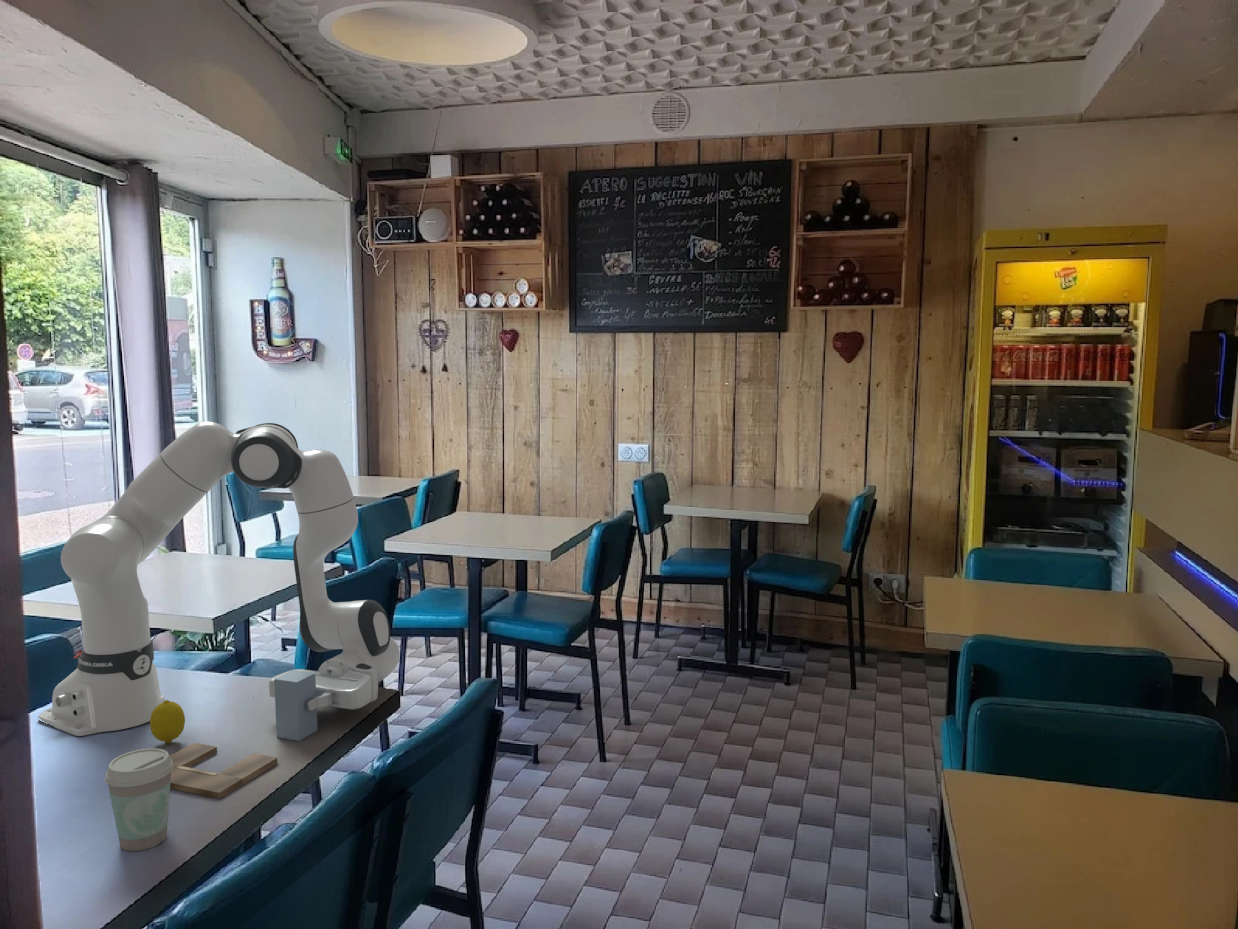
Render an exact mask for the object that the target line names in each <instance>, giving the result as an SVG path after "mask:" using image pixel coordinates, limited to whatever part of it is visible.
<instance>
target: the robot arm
mask: <svg viewBox="0 0 1238 929" xmlns="http://www.w3.org/2000/svg"><path fill="white" fill-rule="evenodd" d="M231 473H234V474H235V476H236V477H237V478H238V480H240V481H241V482H243V483H244V484H245V485H249V486H251V487H255V488H261V489H262V488H264V489H266V488H267V489H288V490H289V491H290V493H291V495H292V498H293V501H294V504H295V508H296V511H297V516H298V521H299V522H298V524H299V526H298V527H299V529H298V534H297V535H296V536H295V538H294V541H293V544H292V545H293V546H292V554H293V555H292V556H293V565H294V566H293V567H294V574H295V581H296V588H297V589H296V590H297V595H298V596H297V597H298V605H299V634H300V637H301V640H302V641H303V642H304V644H305V646H307V647H308V648H309V649H310V650H311V651H313V652H317V653H323V652H329V651H334V650H342V652H341V653H339V654H337V655H336V656H333V657H332V658H329V659H327V660H325V661H324V662H322V664H321V665H320V666H319V668H318V670H310V669H303V668H302V669H301V668H299V669H298V668H295V669H294V670H296V671H303V672H311V673H315V680H316V697H315V698H308V699H307V700H305V701H304V705H305V706H304V709H305V710H311V711H312V710H314V709H316V708H317V709H320V708H324V707H333V708H339V709H344V710H345V709H346V710H351V711H352V710H358V709H361V708H363V707H364V706H367V705H368V704H370V703H371V702H375V701H377V700H378V695H379V694H378V693H379V683H380V682H382V681H383V680H384V679H386V678H387V677H388V676H390V675H391V674H392V673H393V672H394V671H395V669H396V667H397V666H398V664H399V662H400V656H401V654H400V648H399V646H398V644H397V642H396V641H395V640H394V639H393V638H392V637H391V624H390V619H389V617H388V614H387V612H386V610H385V609H384V608H383V606H382V605H381V604H380V603H378V602H377V601H376V600H374V599H364V600H363V599H362V600H360V599H359V600H351V601H338V602H334V601H332V600H331V599H329V597H328V592H327V585H326V577H325V570H324V569H325V568H324V564H325V559H326V557H327V555H328V554H329V553H330V552H332V551H334V550H336V549H337V548H340V546H342V545H344V544H345V543H346V542H347V541H349V539H351V537H352V536H353V535H354V533H355V531H356V530H357V527H358V524H359V514H358V508H357V504H356V500H355V498H354V497H355V496H354V494H353V491H352V488H351V485H350V482H349V479H348V477H347V476H348V475H346V472H345V470H344V467H343V465H342V463H341V461H340V459H339V458H338V456H337V454H335V453H333V452H332V451H329V450H326V449H312V450H309V451H306V450H301V449H299V446H298V441H297V438H296V436H295V435H294V433H293V432H292V431H290V430H289V429H288V428H287V427H285V426H283V425H281V424H279V423H275V422H270V423H269V422H264V423H260V424H256V425H253V426H250V427H246V428H243V429H239V430H237V431H236V432H235V433H234V432H232V431H231V430H229V429H228V428H226V427H225V426H223V425H222V424H220V423H217V422H214V421H208V420H207V421H205V420H204V421H201V422H198V423H196V424H194V425H193V426H191V427H190V428H188V429H187V430H186V431H184V432H183V433H182V434H180V435H179V436H178V437H177V438H176V439H174V440H173V441H172V442H170V444H168V445H167V446H166V447H165V448H164V449H162V451H161V452H160V453H159V454H158V455H157V456H155V458H154V459H153V460H152V461H151V462H150V463H149V464H148V465H147V466H146V467H145V468H144V469H142V471H141V472H140V473H139V474H138V475H137V476H136V477H135V478H134V479H133V480H132V481H131V482H130V483H129V485H128V486H127V488H126V489H125V491H124V492H123V494H122V495H120V496H121V497H119V498H118V500H117V501H116V502H115V504H114V505H113V506H111V508H110V509H109V510H108V511H107V512H106V513H105V514H104V515H103V516H102V517H100V518H99V519H96V521H93V522H92V523H91V522H90V523H89V524H87V525H84V526H82V527H80V528H79V529H77V530H76V531H75V532H74V533H73V534H72V535H71V536H70V537H69V538H68V539H67V541H66V543H65V544H64V546H63V547H62V550H61V553H60V564H61V567H62V569H63V571H64V573H65V574H66V575H67V576H68V577H69V578H70V580H71V583H72V586H73V589H74V592H75V595H76V598H77V603H78V605H79V609H80V610H79V611H80V617H81V630H82V643H83V648H82V649H81V650H78V651H75V652H73V655H75V654H77V655H75V656H74V657H73V659H77V658H79V659H78V662H77V666H76V669H75V670H73V672H71V673H70V674H69V675H68V676H66V677H65V678H64V679H62V681H61V682H59V683H58V684H57V685H56V686H55V687H54V689H53V692H52V698H51V699H52V702H51V703H52V704H51V707H49V708H47V709H45V710H44V711H43V712H41V713H39V715H38V718H40V719H41V720H42V721H44V722H45V723H47V724H50V725H52V726H54V727H53V728H55V729H57V730H61V731H63V732H65V733H68V734H70V735H73V736H75V737H81V736H88V735H89V736H90V735H92V734H97V733H103V732H104V733H106V732H112V731H121V730H125V729H130V728H135V727H137V726H141V725H143V724H146V723H150V719H151V715H152V712H153V710H154V709H155V708H156V707H157V706H158V705H159V704H161V703H163V702H164V701H165V695H164V694H161V689H160V688H161V687H160V683H159V677H158V672H157V671H158V670H157V667H156V664H155V662H154V660H155V646H154V642H153V640H152V639H151V630H150V629H151V628H150V613H149V611H150V610H149V602H148V600H147V599H146V597H145V596H144V593H143V591H142V587H141V583H140V580H139V579H140V578H139V576H138V565H140V564H141V563H143V562H144V561H145V560H146V559H147V558H148V557H149V556H150V555H151V554H152V553H153V552H154V551H155V549H156V548H157V547H158V546H159V545H160V544H162V542H163V541H164V540H165V539H166V537H167V536H168V535H169V534H170V533H171V532H172V531H173V530H174V528H175V527H176V526H177V525H178V524H179V522H181V520H183V518H184V517H186V515H187V514H188V513H189V512H190V511H191V510H193V508H194V507H195V506H196V505H197V504H198V503H199V502H200V501H201V500H202V499H203V498H204V497H205V496H206V495H207V494H208V493H209V491H211V490H212V489H213V488H214V486H216V484H217V483H219V482H220V480H222V479H223V478H224V477H225V476H227V475H229V474H231ZM292 670H293V669H291V670H287V671H285V672H282V673H280V674H277V675H275V676H272V677H271V678H270V679H269V682H268V692H269V696H270V697H271V698H274V699H275V686H274V679H275V678H277V677H280V676H282V675H284V674H286V673H288V672H290V671H292ZM38 718H37V719H38ZM45 723H44V724H45ZM47 724H46V725H47ZM50 725H49V726H50ZM52 726H51V727H52Z"/></svg>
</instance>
